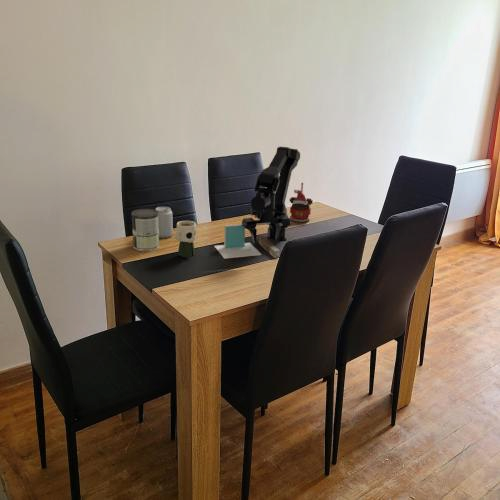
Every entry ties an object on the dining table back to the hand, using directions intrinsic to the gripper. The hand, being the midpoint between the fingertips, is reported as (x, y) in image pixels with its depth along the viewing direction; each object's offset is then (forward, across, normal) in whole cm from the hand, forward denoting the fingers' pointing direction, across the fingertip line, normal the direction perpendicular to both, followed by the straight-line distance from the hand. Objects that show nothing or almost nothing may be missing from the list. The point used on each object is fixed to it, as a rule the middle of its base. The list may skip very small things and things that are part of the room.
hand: (265, 242), depth 202 cm
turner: (+2, 0, +4) cm, 5 cm away
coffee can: (+3, +45, -14) cm, 47 cm away
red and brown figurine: (+3, -30, -32) cm, 44 cm away
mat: (+2, +12, +1) cm, 12 cm away
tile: (+2, +12, -3) cm, 13 cm away
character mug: (+3, +32, 0) cm, 32 cm away
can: (+3, +36, -25) cm, 44 cm away
